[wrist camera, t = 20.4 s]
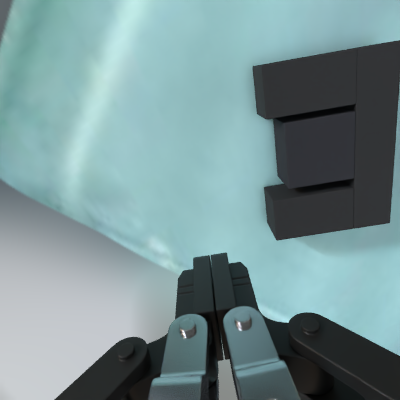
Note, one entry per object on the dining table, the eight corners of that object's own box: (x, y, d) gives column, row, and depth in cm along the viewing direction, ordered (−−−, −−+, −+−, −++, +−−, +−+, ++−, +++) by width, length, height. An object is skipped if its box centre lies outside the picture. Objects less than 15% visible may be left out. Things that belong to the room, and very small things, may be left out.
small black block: (277, 176, 32) (288, 189, 29) (273, 117, 30) (284, 123, 26) (335, 166, 32) (354, 178, 28) (335, 106, 30) (355, 111, 26)
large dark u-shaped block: (267, 222, 34) (276, 240, 31) (252, 66, 28) (261, 65, 25) (368, 206, 34) (389, 223, 30) (374, 44, 28) (402, 39, 24)
